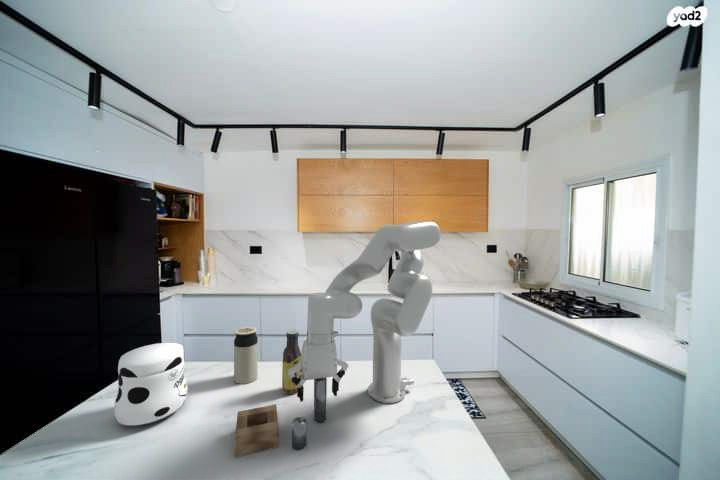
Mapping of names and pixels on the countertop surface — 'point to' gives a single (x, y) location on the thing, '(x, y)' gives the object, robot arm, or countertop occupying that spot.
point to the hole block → (256, 430)
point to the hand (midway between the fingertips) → (318, 396)
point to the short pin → (299, 433)
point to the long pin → (320, 399)
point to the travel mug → (245, 355)
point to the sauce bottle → (290, 362)
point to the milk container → (150, 384)
